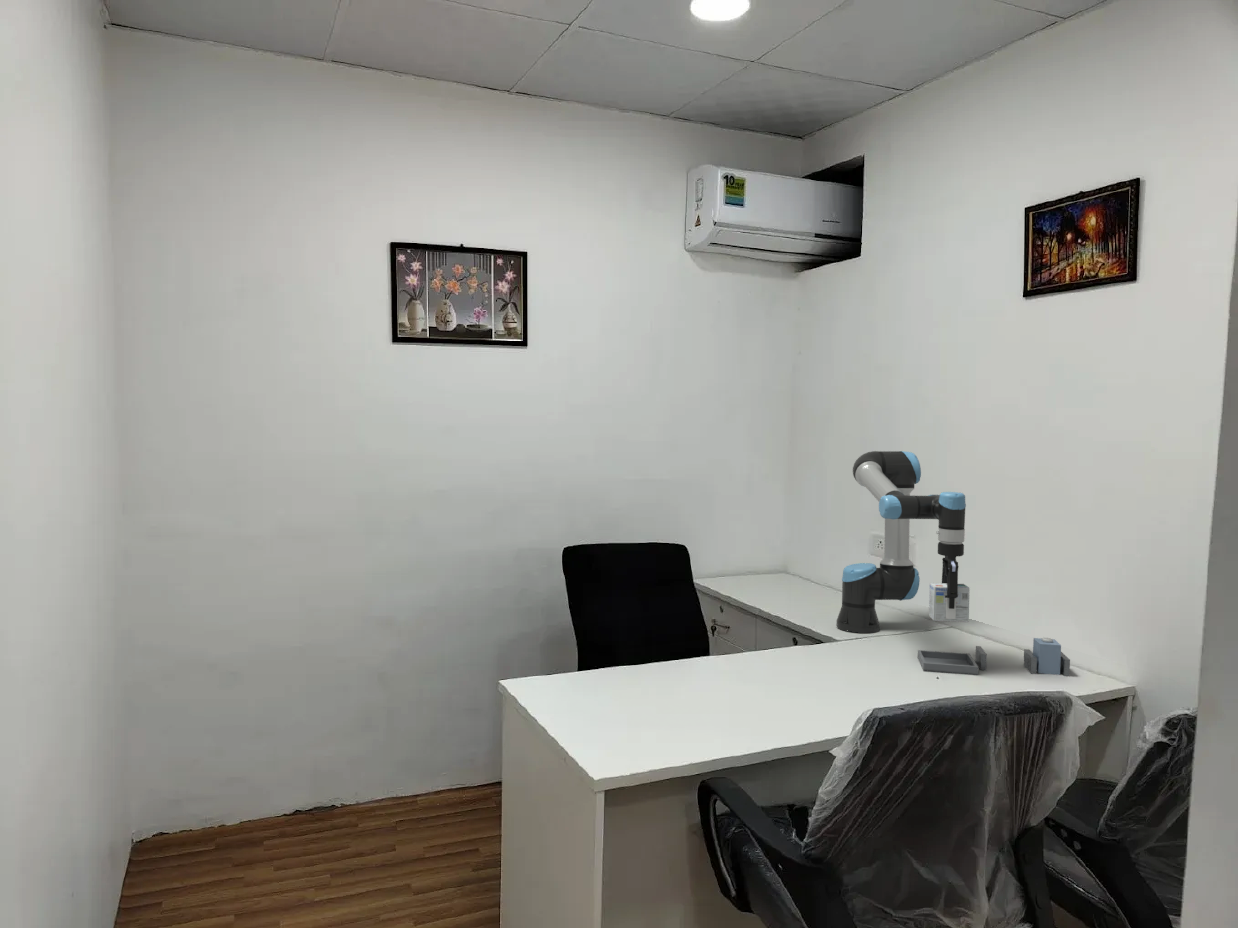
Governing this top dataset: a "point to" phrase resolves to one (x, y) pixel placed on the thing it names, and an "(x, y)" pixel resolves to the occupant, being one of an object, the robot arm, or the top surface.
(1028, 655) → the rack
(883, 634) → the top surface
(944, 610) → the light bulb box
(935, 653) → the tray
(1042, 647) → the cartridge
